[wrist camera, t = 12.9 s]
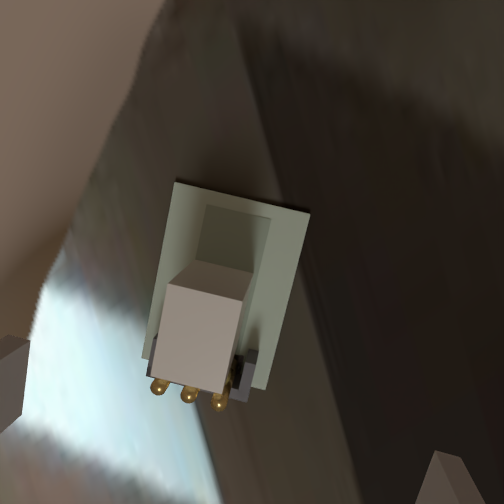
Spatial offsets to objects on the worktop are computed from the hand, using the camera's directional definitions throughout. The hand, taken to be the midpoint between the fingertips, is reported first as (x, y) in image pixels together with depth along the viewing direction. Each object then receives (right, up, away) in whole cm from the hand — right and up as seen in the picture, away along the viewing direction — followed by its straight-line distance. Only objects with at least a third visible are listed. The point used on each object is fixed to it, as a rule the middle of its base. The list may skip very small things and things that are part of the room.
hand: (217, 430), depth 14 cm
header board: (-1, +3, +19) cm, 19 cm away
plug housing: (-2, +2, +19) cm, 19 cm away
